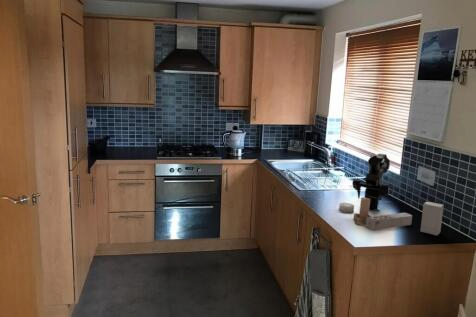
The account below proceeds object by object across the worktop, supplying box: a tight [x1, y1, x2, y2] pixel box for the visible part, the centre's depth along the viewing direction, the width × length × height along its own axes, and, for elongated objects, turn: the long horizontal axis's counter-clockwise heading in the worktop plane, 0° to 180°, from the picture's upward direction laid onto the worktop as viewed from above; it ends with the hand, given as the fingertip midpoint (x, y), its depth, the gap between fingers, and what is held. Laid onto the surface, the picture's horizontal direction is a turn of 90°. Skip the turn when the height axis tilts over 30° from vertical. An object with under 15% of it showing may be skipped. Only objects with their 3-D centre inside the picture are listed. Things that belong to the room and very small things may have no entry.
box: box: [365, 212, 413, 231], centre depth 211 cm, size 27×5×6 cm, turn 116°
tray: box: [353, 212, 372, 226], centre depth 214 cm, size 9×9×3 cm
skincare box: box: [420, 201, 444, 236], centre depth 204 cm, size 8×6×15 cm
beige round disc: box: [338, 202, 355, 214], centre depth 231 cm, size 8×8×4 cm
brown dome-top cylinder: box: [358, 196, 370, 219], centre depth 213 cm, size 5×5×12 cm
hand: (367, 200), depth 218 cm, fingers open, 9 cm apart
